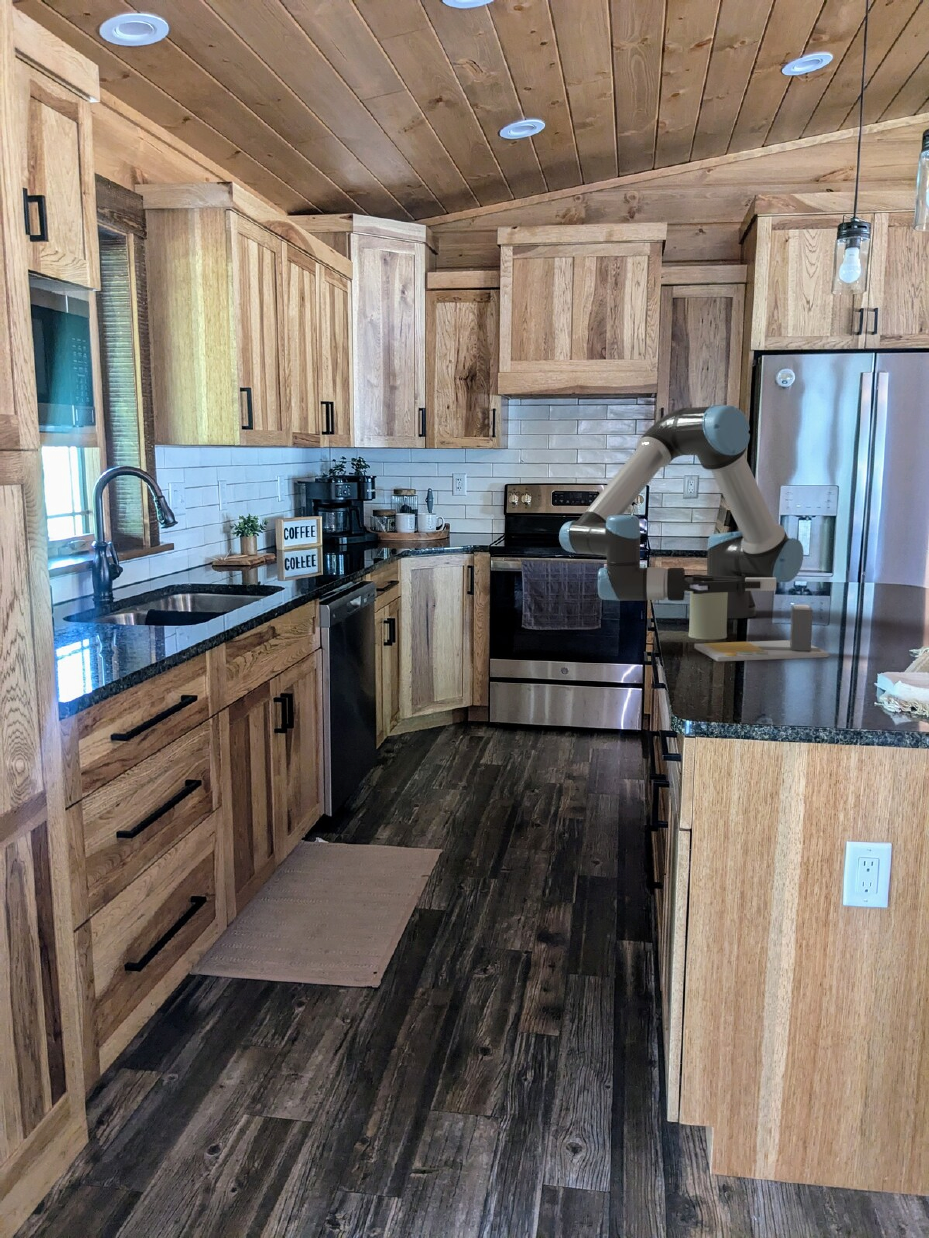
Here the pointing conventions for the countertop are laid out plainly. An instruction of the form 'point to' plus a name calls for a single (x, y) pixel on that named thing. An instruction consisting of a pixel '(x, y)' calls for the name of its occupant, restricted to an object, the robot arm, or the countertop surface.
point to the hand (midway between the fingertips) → (775, 584)
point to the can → (708, 616)
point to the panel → (756, 651)
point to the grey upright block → (801, 627)
